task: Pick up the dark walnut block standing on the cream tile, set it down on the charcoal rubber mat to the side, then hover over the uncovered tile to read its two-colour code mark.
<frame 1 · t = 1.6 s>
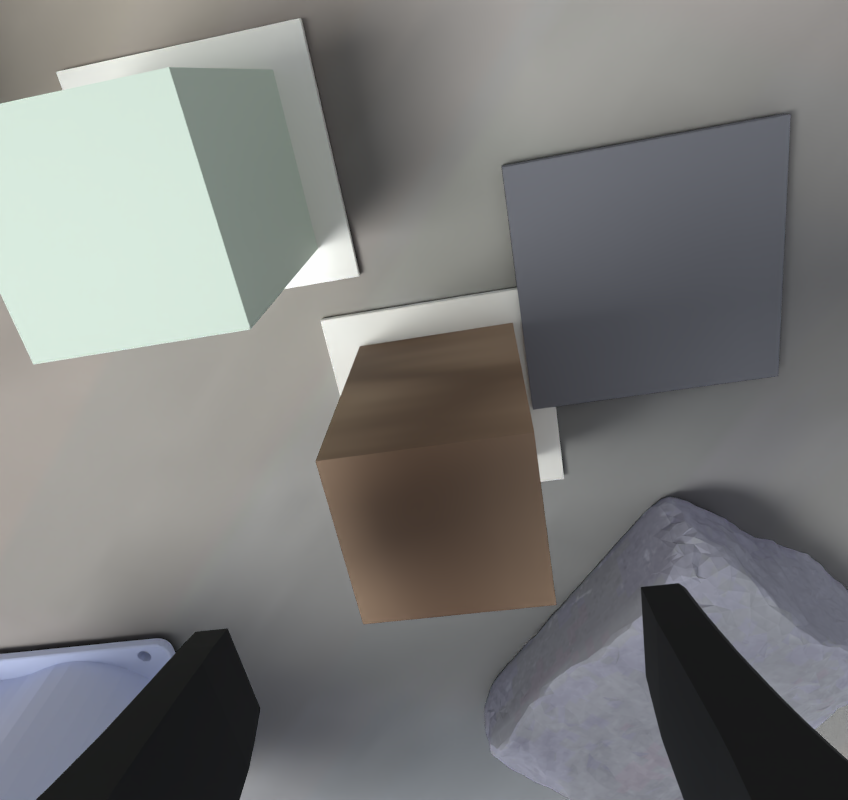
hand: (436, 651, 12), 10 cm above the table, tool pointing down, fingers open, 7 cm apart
stone block: (668, 642, 25), on the table
charcoal mat: (644, 273, 18), on the table
cream tile: (448, 400, 20), on the table
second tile: (218, 178, 18), on the table
sage block: (215, 179, 18), resting on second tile
walnut block: (447, 403, 20), resting on cream tile
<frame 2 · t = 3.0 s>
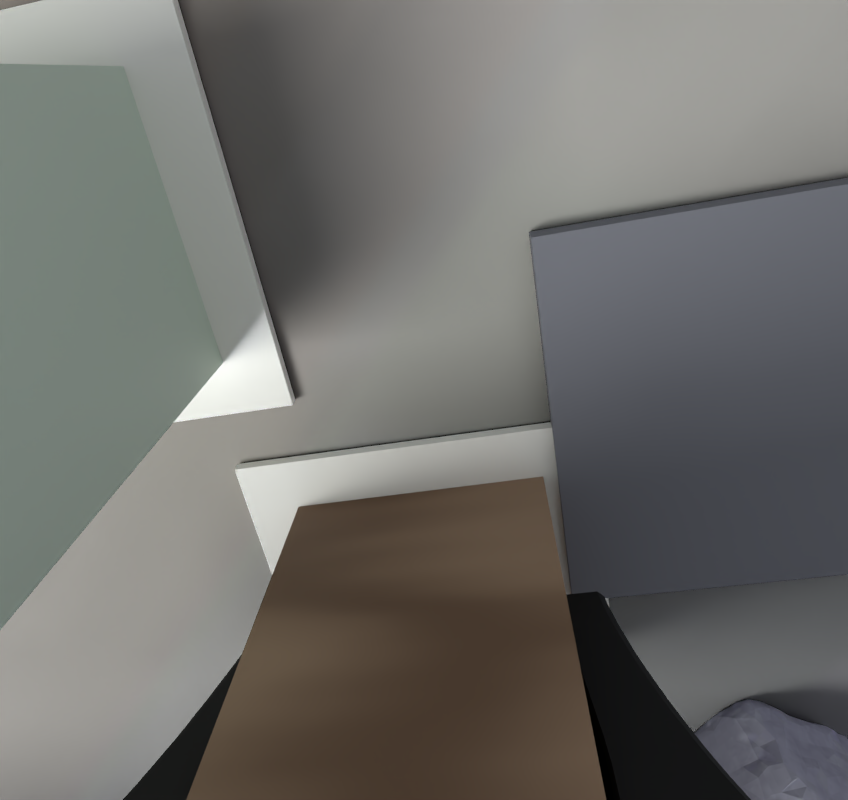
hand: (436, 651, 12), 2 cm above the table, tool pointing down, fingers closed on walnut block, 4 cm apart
charcoal mat: (762, 404, 11), on the table
cream tile: (439, 580, 13), on the table
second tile: (50, 249, 11), on the table
sage block: (43, 252, 10), resting on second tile
walnut block: (439, 587, 13), resting on cream tile, touching gripper
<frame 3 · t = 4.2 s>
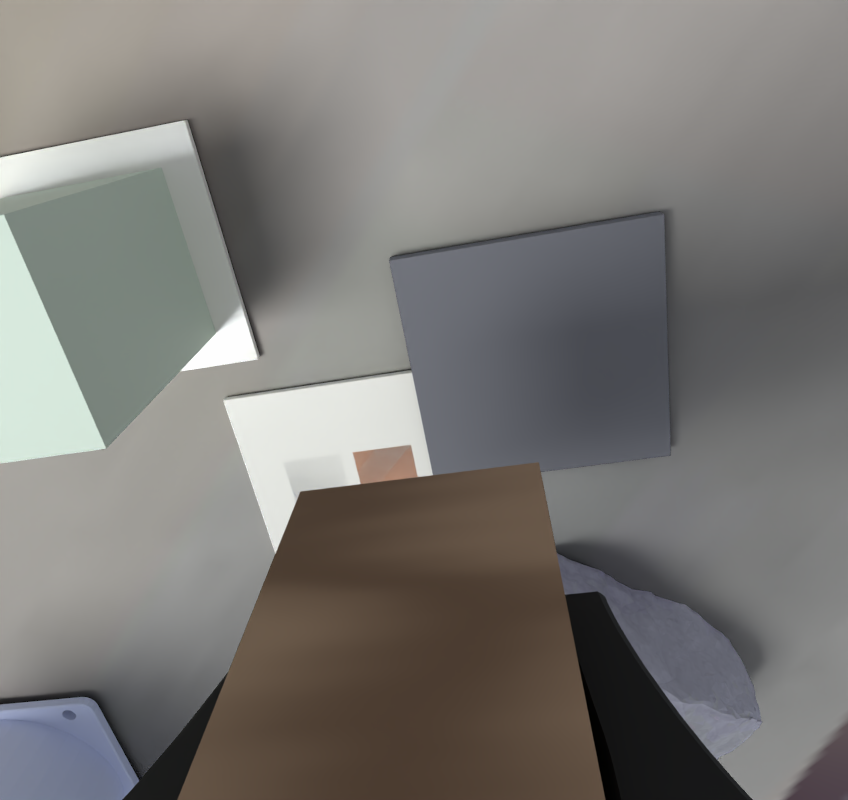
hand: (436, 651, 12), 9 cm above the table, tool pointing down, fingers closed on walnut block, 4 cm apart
stone block: (560, 688, 25), on the table
charcoal mat: (536, 358, 19), on the table
cream tile: (353, 474, 21), on the table
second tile: (115, 266, 18), on the table
sage block: (112, 268, 18), resting on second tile
walnut block: (437, 572, 13), point 7 cm above the table, touching gripper
when the fingers open (3 cm above the table, at t = 5.8 s): walnut block drops 1 cm, resting on charcoal mat.
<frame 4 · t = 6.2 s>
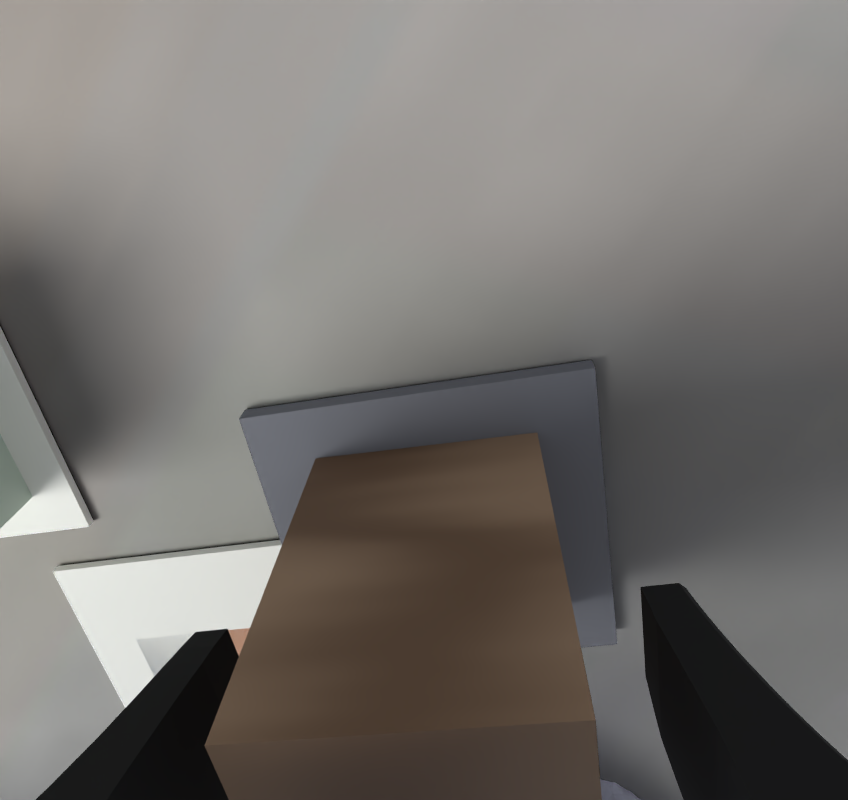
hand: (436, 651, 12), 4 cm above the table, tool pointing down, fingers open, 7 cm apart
charcoal mat: (442, 528, 15), on the table
cream tile: (226, 652, 17), on the table
walnut block: (441, 536, 14), resting on charcoal mat
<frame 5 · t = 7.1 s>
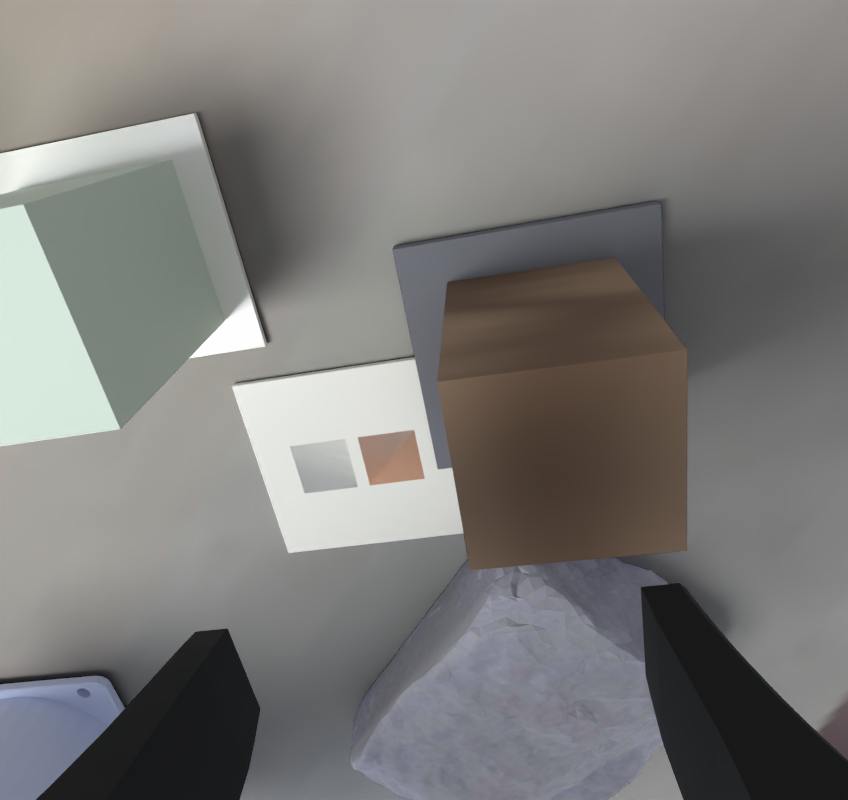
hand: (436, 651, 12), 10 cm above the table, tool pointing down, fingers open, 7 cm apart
stone block: (532, 656, 25), on the table
charcoal mat: (536, 345, 19), on the table
cream tile: (358, 459, 21), on the table
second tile: (127, 256, 19), on the table
sage block: (124, 257, 19), resting on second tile
walnut block: (537, 347, 19), resting on charcoal mat
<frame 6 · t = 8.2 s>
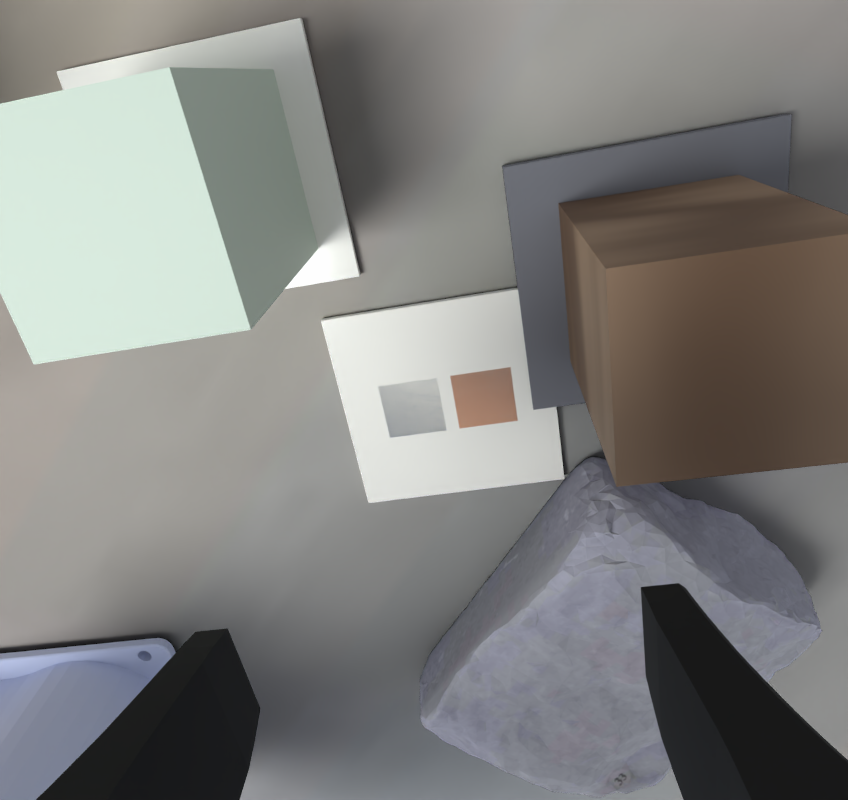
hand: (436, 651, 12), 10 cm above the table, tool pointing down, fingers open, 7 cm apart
stone block: (606, 610, 24), on the table
charcoal mat: (645, 273, 18), on the table
cream tile: (448, 400, 20), on the table
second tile: (218, 178, 18), on the table
sage block: (215, 179, 18), resting on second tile
walnut block: (648, 274, 18), resting on charcoal mat
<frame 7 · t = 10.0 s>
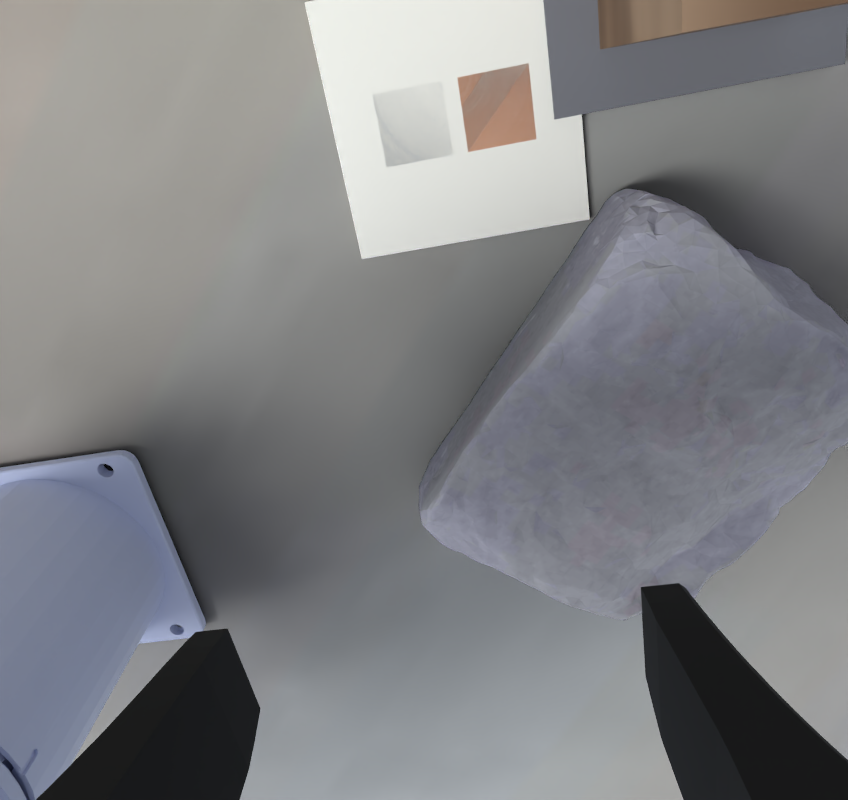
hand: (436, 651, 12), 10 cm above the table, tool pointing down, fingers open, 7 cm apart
stone block: (631, 408, 21), on the table
cream tile: (455, 116, 17), on the table
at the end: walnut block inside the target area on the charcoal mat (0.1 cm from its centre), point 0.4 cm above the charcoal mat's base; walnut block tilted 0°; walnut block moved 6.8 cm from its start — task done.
